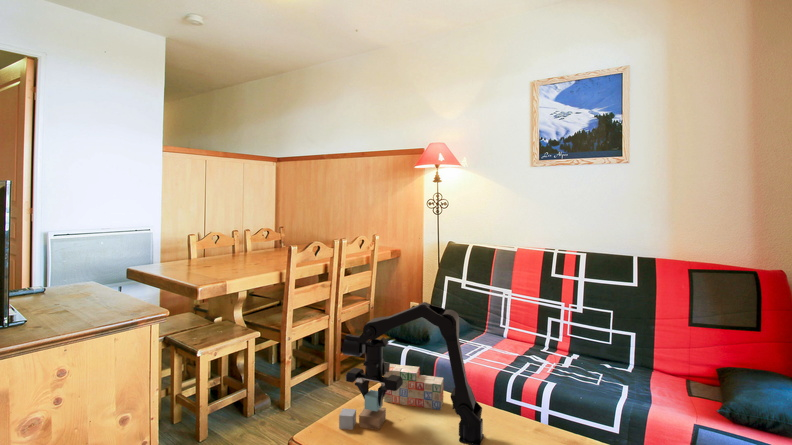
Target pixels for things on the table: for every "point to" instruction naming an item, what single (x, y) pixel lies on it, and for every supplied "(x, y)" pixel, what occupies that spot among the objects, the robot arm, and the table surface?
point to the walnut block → (372, 418)
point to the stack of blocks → (415, 388)
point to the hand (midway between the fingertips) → (373, 404)
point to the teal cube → (372, 401)
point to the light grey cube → (347, 419)
